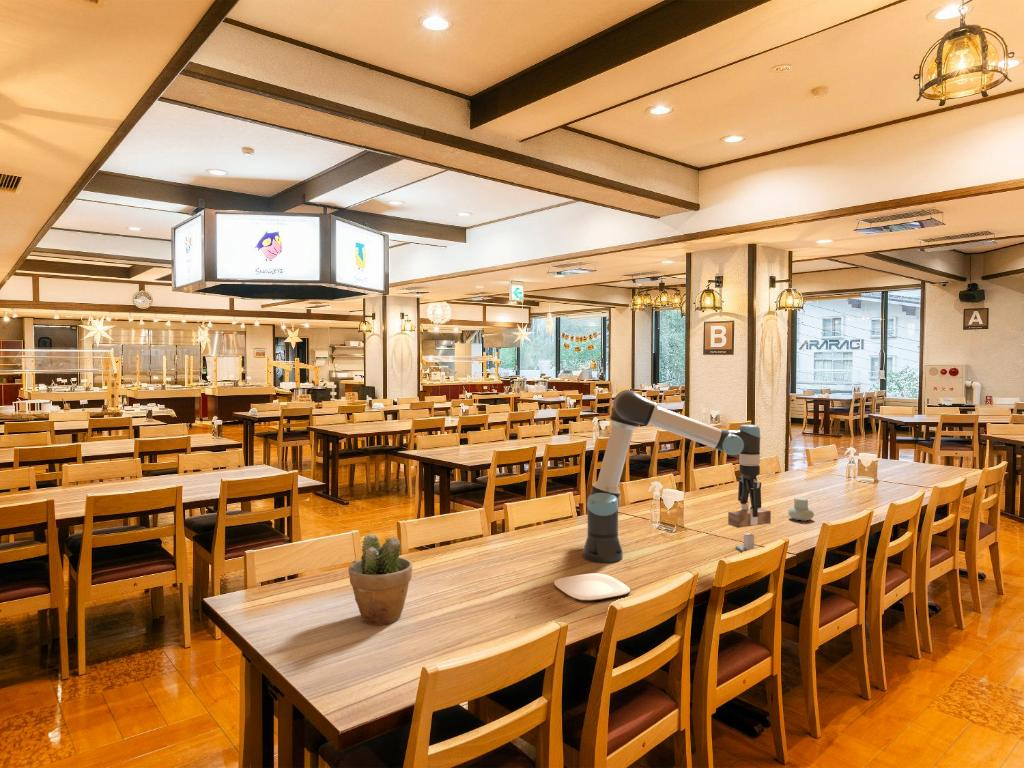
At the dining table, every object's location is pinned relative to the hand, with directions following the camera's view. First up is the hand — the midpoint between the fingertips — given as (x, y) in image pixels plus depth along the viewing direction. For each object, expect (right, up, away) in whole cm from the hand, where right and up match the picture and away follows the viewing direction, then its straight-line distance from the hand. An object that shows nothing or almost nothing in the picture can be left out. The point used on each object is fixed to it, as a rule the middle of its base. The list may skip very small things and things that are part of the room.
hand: (749, 522), depth 248 cm
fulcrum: (0, -11, 0) cm, 11 cm away
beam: (0, -1, 0) cm, 1 cm away
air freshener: (+43, -10, +49) cm, 66 cm away
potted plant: (-132, -14, -63) cm, 147 cm away
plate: (-67, -14, -41) cm, 80 cm away
